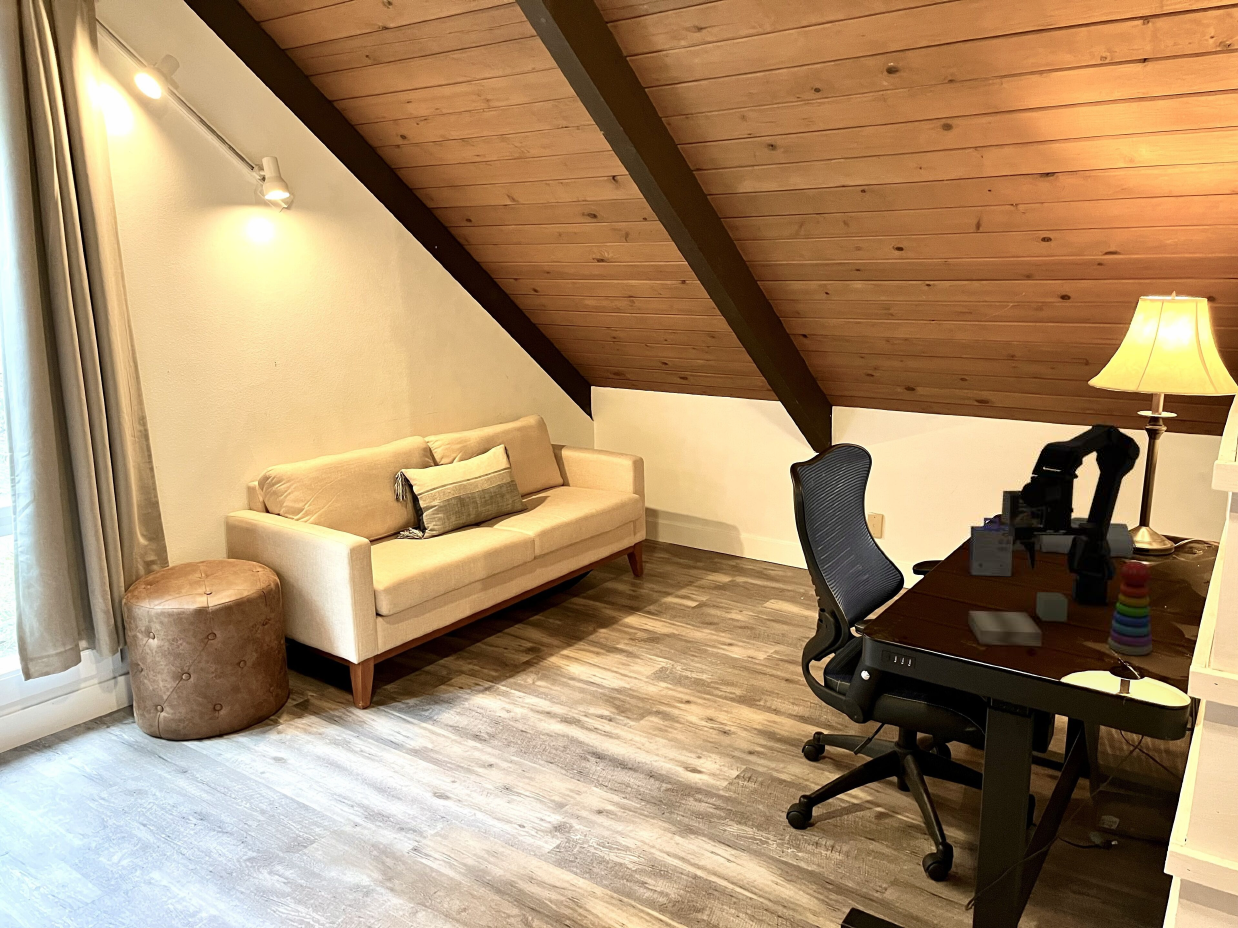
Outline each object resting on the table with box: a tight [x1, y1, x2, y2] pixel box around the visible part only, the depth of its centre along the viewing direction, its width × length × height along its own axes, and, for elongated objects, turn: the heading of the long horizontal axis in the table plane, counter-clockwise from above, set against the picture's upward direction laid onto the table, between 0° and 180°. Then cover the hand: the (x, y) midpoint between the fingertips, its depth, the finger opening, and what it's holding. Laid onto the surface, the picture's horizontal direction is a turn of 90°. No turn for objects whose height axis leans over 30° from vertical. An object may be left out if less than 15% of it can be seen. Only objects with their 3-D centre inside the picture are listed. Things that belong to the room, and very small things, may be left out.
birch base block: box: [968, 610, 1043, 647], centre depth 196 cm, size 12×12×3 cm
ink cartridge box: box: [969, 517, 1013, 577], centre depth 237 cm, size 10×6×14 cm, turn 78°
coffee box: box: [1000, 490, 1042, 551], centre depth 259 cm, size 9×6×16 cm
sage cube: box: [1035, 591, 1069, 622], centre depth 206 cm, size 5×5×5 cm
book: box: [1040, 516, 1137, 559], centre depth 257 cm, size 19×28×8 cm
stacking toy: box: [1107, 560, 1153, 656], centre depth 185 cm, size 8×8×19 cm
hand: (1054, 568), depth 204 cm, fingers open, 9 cm apart
